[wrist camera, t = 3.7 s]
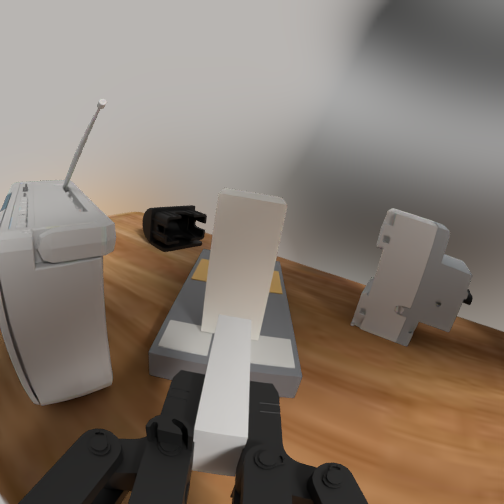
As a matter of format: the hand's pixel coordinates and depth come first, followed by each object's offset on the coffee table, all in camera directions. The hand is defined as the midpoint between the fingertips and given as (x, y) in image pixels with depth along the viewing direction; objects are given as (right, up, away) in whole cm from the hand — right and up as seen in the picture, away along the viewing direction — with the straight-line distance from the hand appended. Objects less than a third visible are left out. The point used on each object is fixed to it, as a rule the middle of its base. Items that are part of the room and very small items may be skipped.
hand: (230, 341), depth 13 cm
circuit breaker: (+21, -7, +21) cm, 31 cm away
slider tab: (-1, -2, +13) cm, 13 cm away
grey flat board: (-1, -3, +20) cm, 21 cm away
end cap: (-14, +6, +40) cm, 43 cm away
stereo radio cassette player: (-18, -4, +9) cm, 21 cm away
